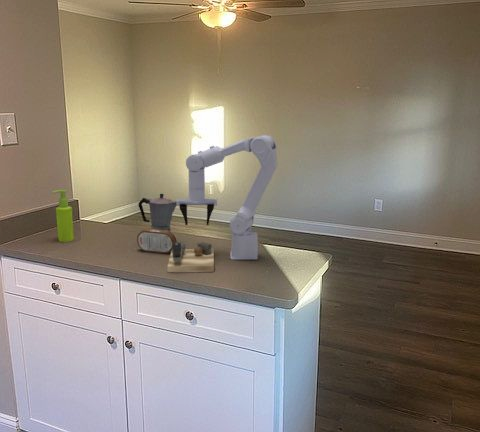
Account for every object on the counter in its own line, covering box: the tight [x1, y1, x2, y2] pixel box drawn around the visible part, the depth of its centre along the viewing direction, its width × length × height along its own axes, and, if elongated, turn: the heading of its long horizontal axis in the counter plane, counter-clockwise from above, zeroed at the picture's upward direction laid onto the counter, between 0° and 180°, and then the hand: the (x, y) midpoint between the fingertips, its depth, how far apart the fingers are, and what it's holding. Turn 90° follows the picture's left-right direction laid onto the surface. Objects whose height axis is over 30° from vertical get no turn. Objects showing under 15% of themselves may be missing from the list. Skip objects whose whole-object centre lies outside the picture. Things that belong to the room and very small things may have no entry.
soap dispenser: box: [51, 189, 75, 243], centre depth 194 cm, size 6×7×20 cm
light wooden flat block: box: [166, 241, 215, 273], centre depth 170 cm, size 19×15×6 cm
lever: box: [172, 241, 187, 261], centre depth 168 cm, size 18×4×7 cm, turn 3°
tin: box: [136, 228, 178, 254], centre depth 181 cm, size 15×3×8 cm, turn 73°
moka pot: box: [138, 193, 177, 233], centre depth 189 cm, size 10×15×20 cm, turn 89°
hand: (197, 224), depth 180 cm, fingers open, 7 cm apart
